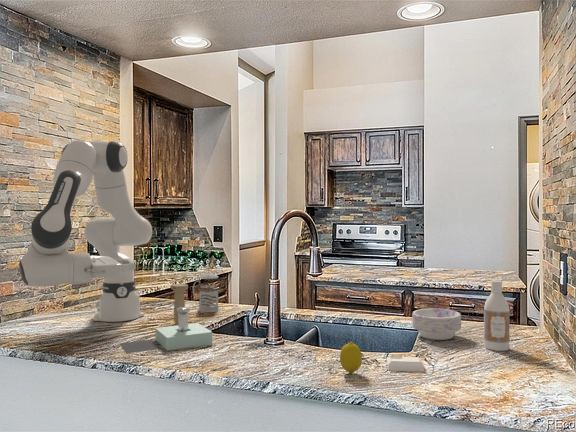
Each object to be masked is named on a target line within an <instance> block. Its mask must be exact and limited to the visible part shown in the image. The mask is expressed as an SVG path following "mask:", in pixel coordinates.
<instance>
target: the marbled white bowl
mask: <svg viewBox="0 0 576 432" xmlns="http://www.w3.org/2000/svg"><path fill="white" fill-rule="evenodd" d="M411 314H412V316H411V317H412V319H411V322H412V328H413V329H415V330H417V331H418V333H419V335H420V336H421V337H422V338H424V339H427V340H433V341H446V340H450V339H452V338H454V336H455V334H456V332H459V331H461V329H462V314H461V313H460V311H459V312H458V311H455V310H453V309H447V308H422V309H421V308H420V309H416V310H414V311H412V313H411Z"/></svg>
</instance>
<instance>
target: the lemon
mask: <svg viewBox="0 0 576 432" xmlns="http://www.w3.org/2000/svg"><path fill="white" fill-rule="evenodd" d="M339 362H340V366H341V367H342V369H344V370H345V371H347V372H348V373H349V374H353V373H354V372H356V371H358V370H359V369H360V368H361V366H362V362H363V355H362V350H361V349H360V347H359V346H358V345H357V344H355V343H353V341H349V342H348V343H346V344H344V345H343V346H342V347H341V349H340V354H339Z"/></svg>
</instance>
